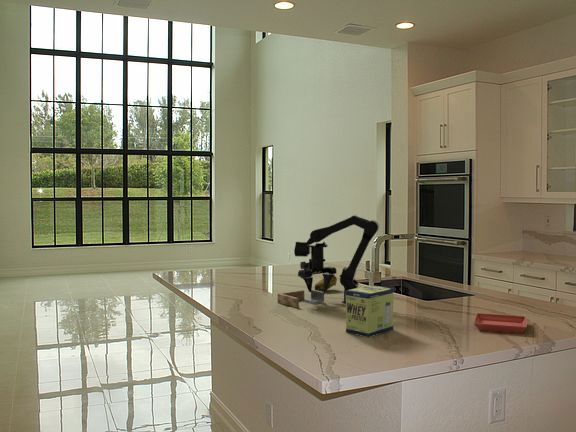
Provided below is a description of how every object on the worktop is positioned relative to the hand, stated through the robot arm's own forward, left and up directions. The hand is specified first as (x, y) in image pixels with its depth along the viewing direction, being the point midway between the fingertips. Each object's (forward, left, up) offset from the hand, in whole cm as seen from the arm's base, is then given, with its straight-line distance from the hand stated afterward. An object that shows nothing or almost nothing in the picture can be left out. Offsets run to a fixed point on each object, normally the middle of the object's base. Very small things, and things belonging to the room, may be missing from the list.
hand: (317, 290), depth 265 cm
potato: (+18, -20, -5) cm, 27 cm away
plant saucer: (-79, -23, -6) cm, 82 cm away
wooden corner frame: (+3, +8, -5) cm, 10 cm away
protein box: (-53, +19, -5) cm, 56 cm away
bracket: (0, +2, -5) cm, 6 cm away
